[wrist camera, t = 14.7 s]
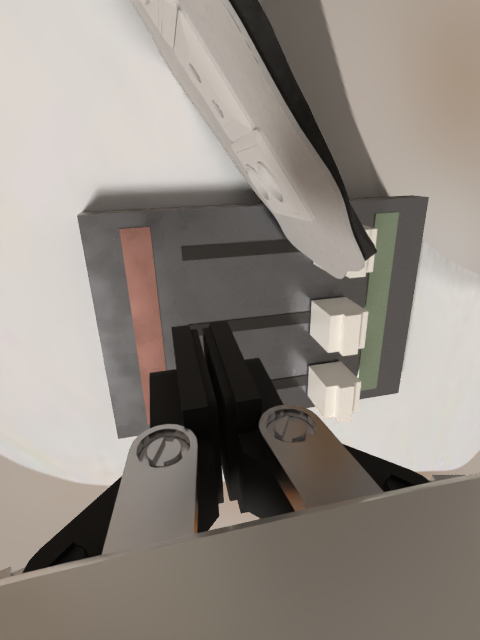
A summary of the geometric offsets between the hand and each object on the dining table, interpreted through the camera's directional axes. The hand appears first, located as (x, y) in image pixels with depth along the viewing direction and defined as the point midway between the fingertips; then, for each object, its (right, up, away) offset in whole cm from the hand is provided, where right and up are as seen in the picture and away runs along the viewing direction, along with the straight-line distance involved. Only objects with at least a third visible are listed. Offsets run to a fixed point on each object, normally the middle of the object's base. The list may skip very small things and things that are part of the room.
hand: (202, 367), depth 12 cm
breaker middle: (+8, +2, +20) cm, 22 cm away
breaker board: (+3, +2, +21) cm, 21 cm away
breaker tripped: (+9, -4, +22) cm, 24 cm away
